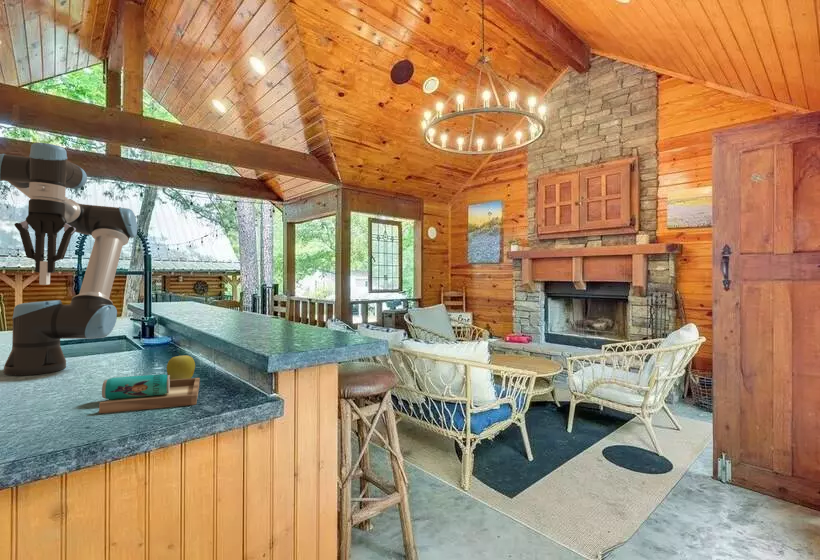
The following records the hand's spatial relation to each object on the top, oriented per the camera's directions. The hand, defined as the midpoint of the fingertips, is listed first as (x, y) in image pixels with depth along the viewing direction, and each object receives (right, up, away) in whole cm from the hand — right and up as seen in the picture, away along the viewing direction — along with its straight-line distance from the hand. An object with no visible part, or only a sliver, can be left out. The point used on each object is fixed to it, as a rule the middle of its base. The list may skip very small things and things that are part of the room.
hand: (44, 284), depth 110 cm
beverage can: (+21, -28, -5) cm, 35 cm away
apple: (+28, -32, +17) cm, 46 cm away
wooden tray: (+31, -32, 0) cm, 44 cm away
